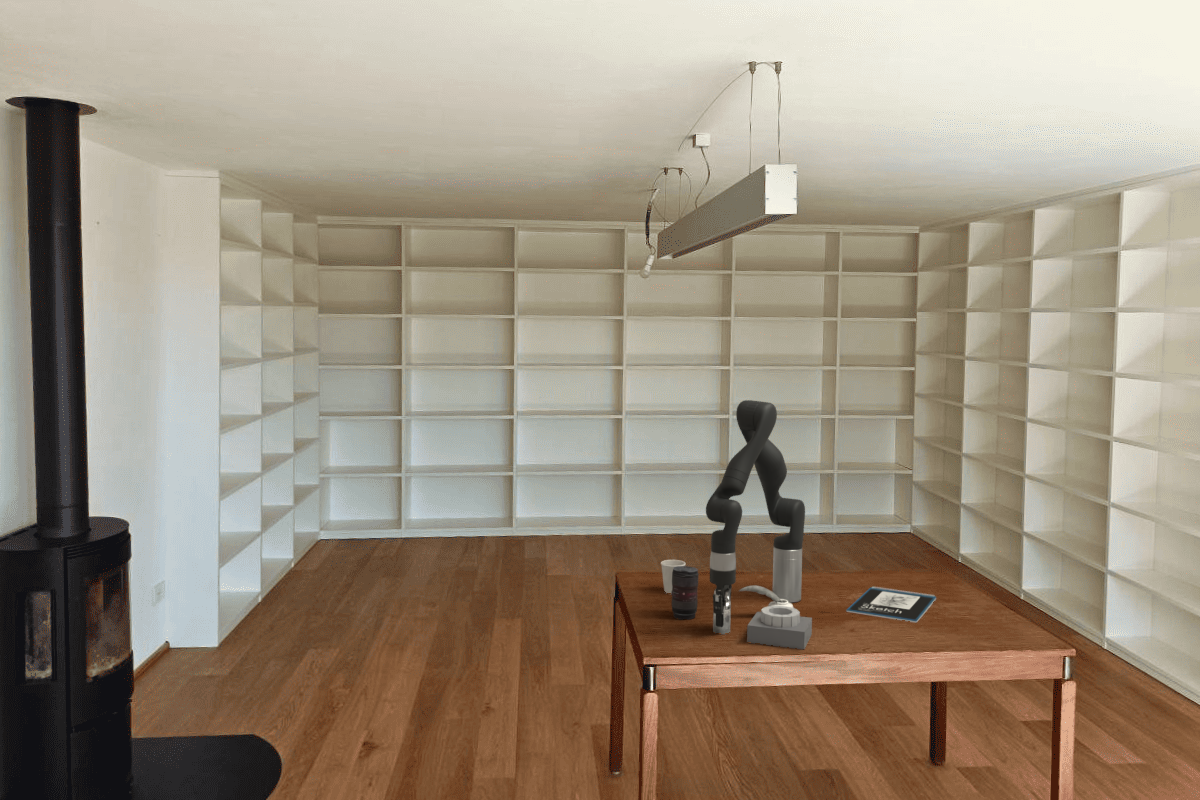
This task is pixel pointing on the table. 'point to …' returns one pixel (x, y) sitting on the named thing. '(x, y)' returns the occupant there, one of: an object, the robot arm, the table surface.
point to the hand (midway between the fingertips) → (721, 623)
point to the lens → (726, 620)
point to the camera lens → (684, 592)
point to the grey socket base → (780, 627)
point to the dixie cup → (669, 572)
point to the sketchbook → (892, 604)
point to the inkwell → (768, 593)
